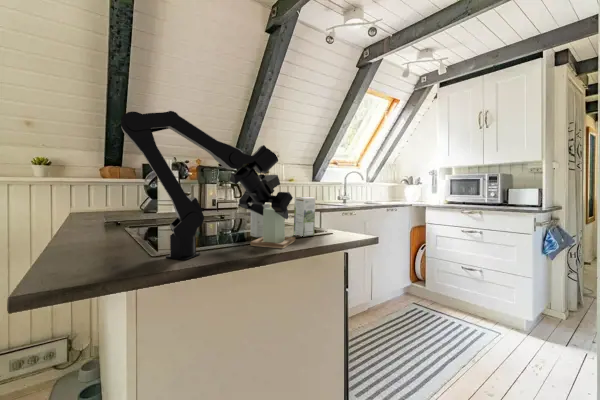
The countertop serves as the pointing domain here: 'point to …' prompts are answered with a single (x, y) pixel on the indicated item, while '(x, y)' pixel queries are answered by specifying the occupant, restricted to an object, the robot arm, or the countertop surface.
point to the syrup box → (304, 216)
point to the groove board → (274, 245)
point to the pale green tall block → (273, 226)
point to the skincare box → (257, 223)
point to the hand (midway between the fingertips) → (276, 217)
